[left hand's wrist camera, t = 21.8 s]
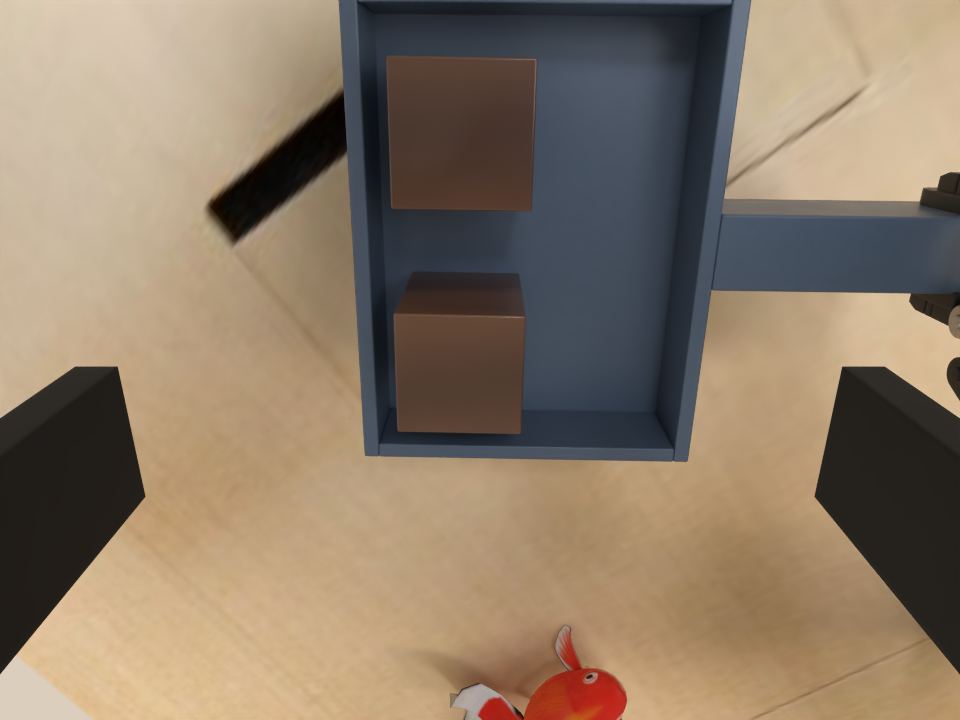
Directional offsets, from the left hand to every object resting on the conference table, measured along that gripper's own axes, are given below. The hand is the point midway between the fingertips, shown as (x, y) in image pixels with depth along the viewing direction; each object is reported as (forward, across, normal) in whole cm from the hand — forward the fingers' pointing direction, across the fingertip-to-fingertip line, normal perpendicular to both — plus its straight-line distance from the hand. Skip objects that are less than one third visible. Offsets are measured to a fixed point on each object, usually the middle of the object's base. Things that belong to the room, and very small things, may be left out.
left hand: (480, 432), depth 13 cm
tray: (+17, +8, 0) cm, 19 cm away
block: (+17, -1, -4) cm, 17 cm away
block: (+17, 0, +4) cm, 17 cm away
